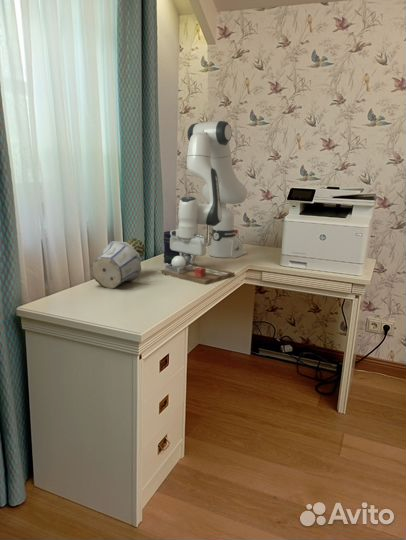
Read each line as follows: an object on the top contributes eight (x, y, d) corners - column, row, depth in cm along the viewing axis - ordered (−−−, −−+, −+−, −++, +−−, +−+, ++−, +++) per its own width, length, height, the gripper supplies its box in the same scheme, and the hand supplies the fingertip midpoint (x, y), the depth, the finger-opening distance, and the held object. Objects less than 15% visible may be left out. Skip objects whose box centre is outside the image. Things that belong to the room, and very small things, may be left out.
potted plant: (122, 255, 158) (155, 226, 183) (81, 254, 164) (118, 225, 189) (131, 296, 166) (161, 263, 191) (91, 293, 171) (125, 261, 197)
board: (191, 266, 206) (191, 256, 205) (234, 275, 189) (234, 265, 188) (161, 273, 192) (161, 263, 190) (204, 284, 175) (204, 273, 174)
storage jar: (186, 263, 212) (186, 233, 208) (167, 264, 208) (167, 234, 205) (179, 259, 221) (179, 230, 217) (161, 260, 217) (160, 231, 214)
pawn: (188, 264, 202) (188, 248, 200) (193, 265, 199) (193, 249, 198) (182, 265, 200) (182, 249, 198) (187, 267, 197) (187, 250, 195)
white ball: (178, 267, 195) (178, 253, 194) (188, 270, 191) (188, 255, 190) (168, 269, 191) (168, 255, 189) (178, 272, 187) (178, 258, 185)
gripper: (209, 234, 191) (208, 265, 195) (177, 229, 205) (177, 258, 208) (200, 236, 187) (199, 267, 190) (167, 231, 200) (167, 260, 203)
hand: (187, 262), depth 199 cm, fingers closed on pawn, 4 cm apart
